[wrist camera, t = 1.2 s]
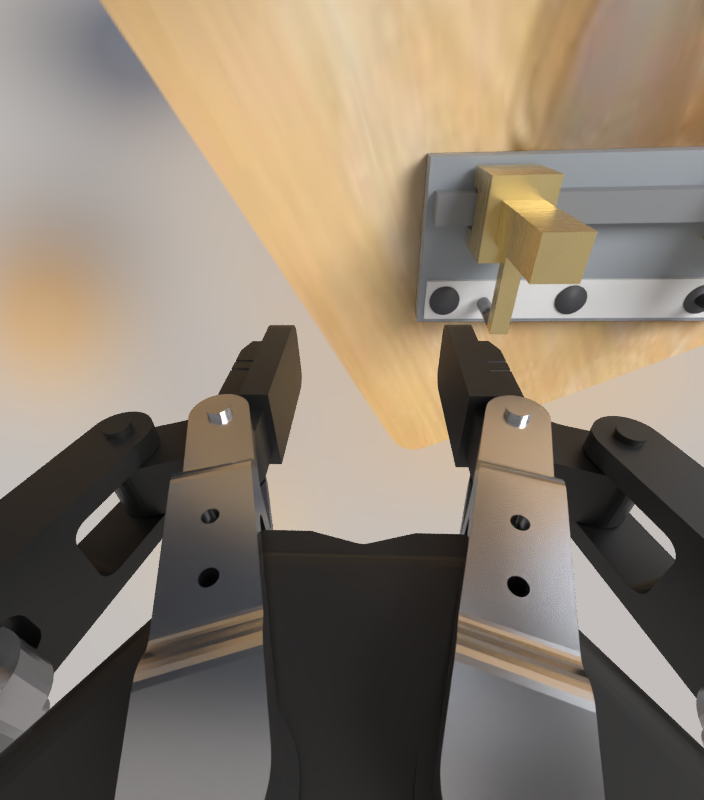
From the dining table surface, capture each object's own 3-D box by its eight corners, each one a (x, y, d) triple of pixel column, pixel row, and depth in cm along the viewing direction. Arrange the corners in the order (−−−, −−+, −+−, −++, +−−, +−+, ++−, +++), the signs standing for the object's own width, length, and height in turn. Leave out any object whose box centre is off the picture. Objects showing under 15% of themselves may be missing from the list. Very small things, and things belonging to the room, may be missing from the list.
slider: (476, 165, 26) (532, 200, 17) (538, 163, 26) (628, 199, 17) (455, 306, 32) (488, 388, 23) (505, 306, 32) (558, 389, 23)
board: (427, 153, 28) (433, 159, 25) (817, 143, 26) (869, 148, 24) (415, 311, 35) (418, 329, 32) (719, 309, 34) (750, 328, 31)
